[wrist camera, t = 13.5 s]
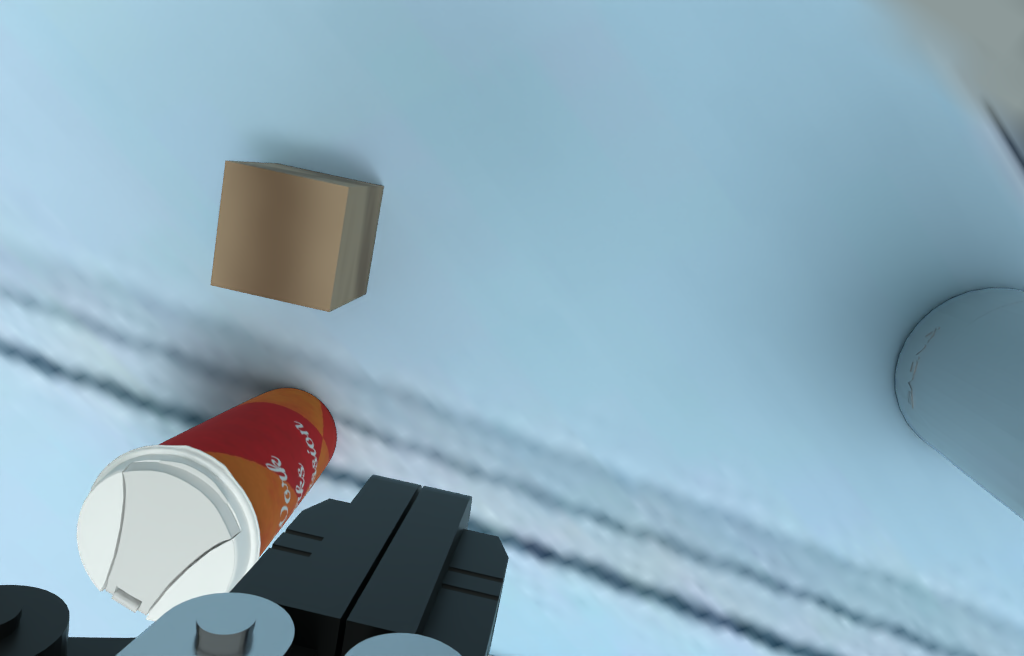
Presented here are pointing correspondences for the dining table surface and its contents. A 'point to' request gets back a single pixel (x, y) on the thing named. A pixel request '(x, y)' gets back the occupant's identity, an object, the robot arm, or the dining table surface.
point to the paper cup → (202, 501)
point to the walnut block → (295, 234)
